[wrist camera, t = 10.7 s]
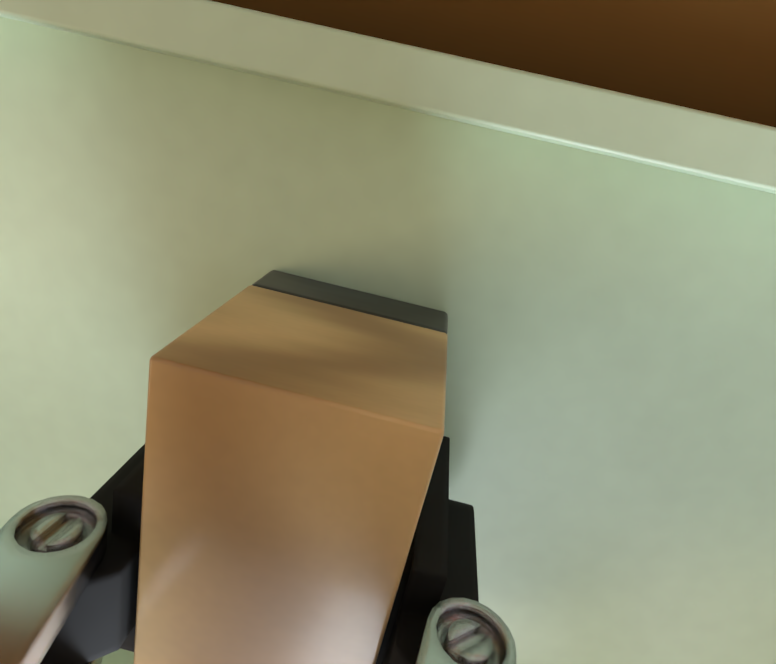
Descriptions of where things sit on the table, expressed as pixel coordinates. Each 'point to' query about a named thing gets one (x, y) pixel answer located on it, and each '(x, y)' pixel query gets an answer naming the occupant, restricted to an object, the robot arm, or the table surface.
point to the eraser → (286, 474)
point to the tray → (416, 291)
